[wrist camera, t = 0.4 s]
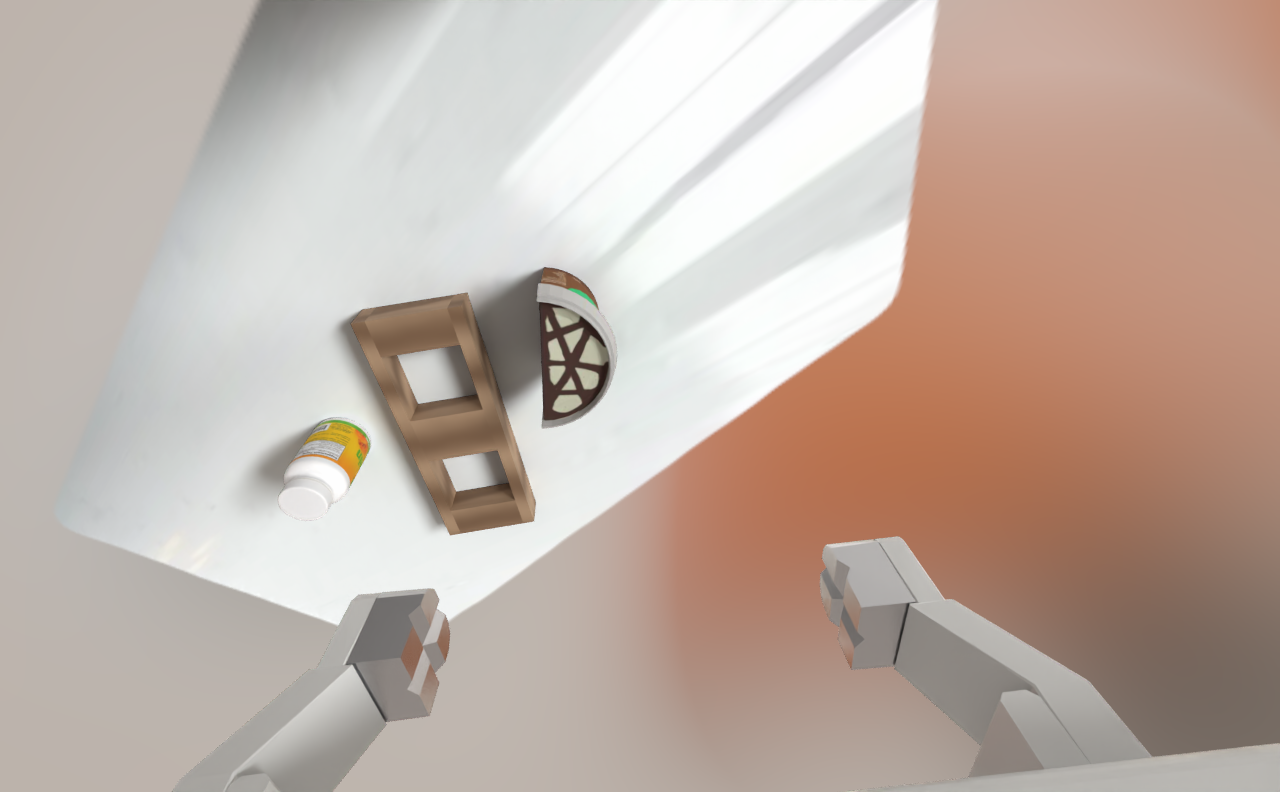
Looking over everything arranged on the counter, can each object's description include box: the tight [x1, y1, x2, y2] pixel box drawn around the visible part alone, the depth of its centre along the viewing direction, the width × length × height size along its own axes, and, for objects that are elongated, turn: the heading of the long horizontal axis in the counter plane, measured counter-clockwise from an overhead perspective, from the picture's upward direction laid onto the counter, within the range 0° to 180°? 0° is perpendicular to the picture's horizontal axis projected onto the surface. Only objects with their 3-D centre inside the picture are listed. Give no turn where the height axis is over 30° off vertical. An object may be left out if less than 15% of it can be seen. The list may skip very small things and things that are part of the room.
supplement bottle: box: [278, 418, 371, 521], centre depth 50 cm, size 5×5×10 cm
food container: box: [537, 267, 617, 428], centre depth 45 cm, size 12×6×10 cm, turn 176°
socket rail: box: [351, 293, 536, 535], centre depth 53 cm, size 26×9×3 cm, turn 7°
